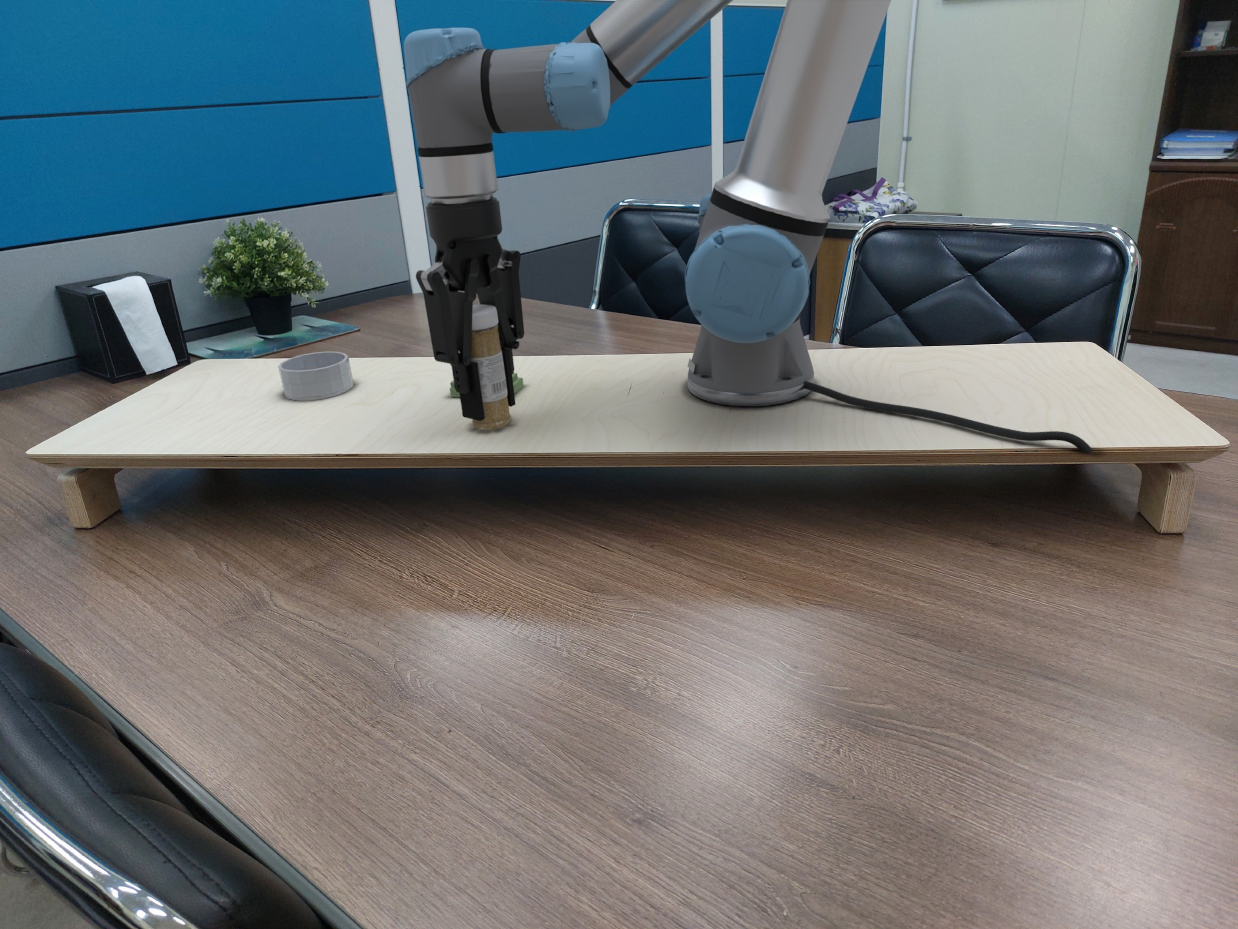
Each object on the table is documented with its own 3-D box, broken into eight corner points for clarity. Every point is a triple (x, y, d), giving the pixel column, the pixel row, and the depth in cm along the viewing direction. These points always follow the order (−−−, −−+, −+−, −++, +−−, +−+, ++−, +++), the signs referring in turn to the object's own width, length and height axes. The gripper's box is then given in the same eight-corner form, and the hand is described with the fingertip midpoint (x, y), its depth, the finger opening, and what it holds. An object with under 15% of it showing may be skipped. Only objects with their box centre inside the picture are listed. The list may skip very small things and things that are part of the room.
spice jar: (498, 414, 99) (482, 301, 93) (519, 422, 95) (504, 306, 90) (464, 424, 96) (446, 309, 91) (485, 434, 93) (467, 315, 87)
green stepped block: (523, 386, 108) (522, 372, 108) (509, 399, 104) (507, 384, 103) (467, 384, 110) (465, 370, 110) (450, 397, 106) (448, 382, 105)
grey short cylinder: (365, 380, 115) (360, 352, 113) (329, 401, 107) (323, 372, 106) (310, 378, 117) (304, 350, 116) (271, 399, 110) (264, 370, 108)
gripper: (494, 187, 94) (516, 383, 104) (370, 208, 81) (409, 430, 91) (544, 188, 90) (563, 392, 99) (422, 210, 77) (457, 442, 87)
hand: (489, 410), depth 95 cm, fingers closed on spice jar, 4 cm apart
